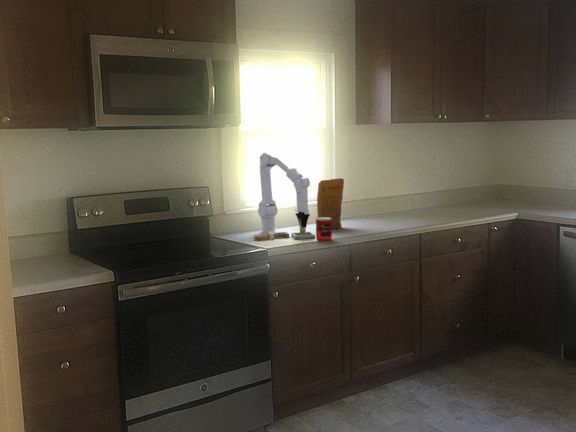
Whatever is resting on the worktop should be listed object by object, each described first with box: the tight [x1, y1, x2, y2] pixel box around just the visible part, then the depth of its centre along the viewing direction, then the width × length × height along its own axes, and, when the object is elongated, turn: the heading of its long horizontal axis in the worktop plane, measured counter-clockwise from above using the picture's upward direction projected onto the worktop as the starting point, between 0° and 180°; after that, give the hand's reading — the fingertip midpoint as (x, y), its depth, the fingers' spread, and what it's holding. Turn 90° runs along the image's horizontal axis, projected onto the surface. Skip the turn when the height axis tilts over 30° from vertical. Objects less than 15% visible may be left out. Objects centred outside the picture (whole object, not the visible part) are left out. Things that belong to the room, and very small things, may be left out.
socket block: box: [274, 231, 290, 239], centre depth 337 cm, size 7×7×2 cm
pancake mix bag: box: [316, 178, 345, 230], centre depth 360 cm, size 7×19×28 cm, turn 121°
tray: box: [291, 231, 316, 240], centre depth 333 cm, size 12×10×2 cm
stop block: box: [267, 232, 275, 241], centre depth 333 cm, size 8×2×3 cm, turn 9°
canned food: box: [315, 217, 333, 242], centre depth 322 cm, size 8×8×11 cm
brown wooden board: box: [253, 233, 268, 242], centre depth 332 cm, size 9×6×2 cm, turn 6°
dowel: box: [299, 219, 307, 233], centre depth 333 cm, size 3×3×7 cm
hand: (302, 226), depth 333 cm, fingers closed on dowel, 3 cm apart
